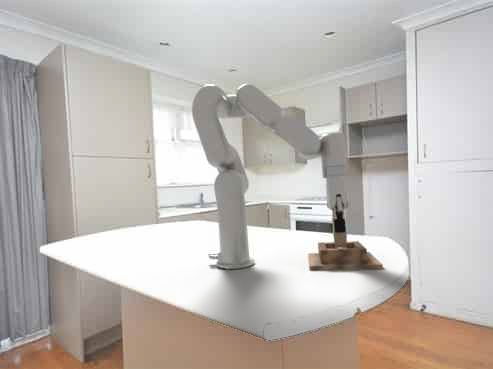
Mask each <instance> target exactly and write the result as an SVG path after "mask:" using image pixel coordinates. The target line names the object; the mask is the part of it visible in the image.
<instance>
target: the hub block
mask: <svg viewBox="0 0 493 369" xmlns="http://www.w3.org/2000/svg"><path fill="white" fill-rule="evenodd" d="M346 246H347V248H346V247H338V248H337V249H335V247H336V245H335V243H334V241H329V242H328V241H326V242H325V241H324V242H317V249H318V252H314V253H313V252H312V253H307V258H308V268H309V271H333V270H334V271H335V270H336V271H338V270H339V271H340V270H342V271H343V270H345V271H346V270H347V271H348V270H350V271H351V270H383V269H384V266H383V263H381V261H379V260H378V259H377V258H376V257H375V256H374V255H373V254H372V253H371V252H370V251H367V250H368V249H367V248H366V247H365V246H364V245H363V244H362V243H361V242H360V241H359V240H355V241H347V244H346Z"/></svg>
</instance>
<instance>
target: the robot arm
mask: <svg viewBox="0 0 493 369" xmlns="http://www.w3.org/2000/svg"><path fill="white" fill-rule="evenodd" d="M191 112H192V119H193V123H194V125H195V129H196V132H197V133H198V137H199V140H200V143H201V146H202V149H203V152H204V154H205V158H206V160H207V163H208V164H209V165H210V166H212V167H214V168H216V169H217V172H218V174H217V176H216V177H215V179H214V183H213V189H214V195H215V201H216V209H217V211H216V212H217V221H218V223H217V224H218V236H219V248H220V251H217V252H209V253H208V258H209V259H210V260H217V261H216V267H217V266H218V267H217V268H219V267H221V268H220V269H222V268H225V269H224V270H238V269H239V270H240V269H245V268H248V267H252V265H254V264H255V259H254V258H253V257H250V250H249V248H250V247H249V234H248V217H247V207H246V200H245V199H246V198H245V194H246V193H247V191H248V190H249V185H250V184H249V179H248V176H247V173H246V171H245V168H244V167H245V166H244V165H243V162H242V160H241V157H240V154H239V153H238V151H237V149H236V147H234V145H232V144H230V142H229V141H228V139H227V136H226V134H225V131H224V127H223V126H222V123H221V121H220V119H233V118H234V119H237V118H248V117H250V118H252V119H253V120H254V121H255V122H257V123H258V124H259V125H260V126H261V127H263V129H265V130H266V131H268V132H269V133H272V134H275V135H276V136H278V137H279V138H280V139H282V140H283V141H285V143H287V144H288V145H290V147H291V148H293V149H294V150H295V151H296V154H297V156H299V157H300V159H302V160H305V161H307V160H308V161H309V160H314V159H319V158H320V160H321V173H322V179H325V182H326V184H325V188H326V189H325V190H326V193H325V194H326V204H327V203H328V207H327V208H328V209H329V210H331V212H332V208H334V217H335V219H334V229H335V232H336V233H342V232H346V233H347V227H345V226H346V219H345V209H347V208H346V202H347V197H346V196H347V195H346V184H345V182H346V181H345V178H346V177H349V176H348V175H349V174H348V164H347V161H348V160H347V151H346V139H345V135H344V133H342V132H329V133H325V134H322V135H321V136H318V134H317V133H316V132H315V131H314V130H313V129H311V128H310V127H308V126H307V125H306V124H305V123H304V122H303V121H301V120H300V119H299V118H297V117H295V115H293V114H291V113H289V112H288V111H287V110H286V109H284V108H282V106H280V105H279V104H278V103H276V102H275V101H274V100H273V99H272V98H270V97H269V96H268V95H267V94H265V92H263V91H262V90H260V88H258V87H257V86H256V85H254V84H252V83H245V84H242V85H240V86H239V87H238V88H237V90H236V92H235V94H229V95H228V94H227V93H226V92H225V91H224V90H223V89H222V88H221V87H219V86H218V85H216V84H211V83H210V84H205V85H204V86H202V87H200V89H199V90H198V91H197V93H196V94H195V96H194V98H193V100H192V104H191ZM343 204H344V206H343ZM335 207H337V208H338V209H335ZM343 207H344V208H343ZM336 211H337V212H336ZM331 220H332V223H333V212H332V217H331Z"/></svg>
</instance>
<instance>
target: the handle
mask: <svg viewBox="0 0 493 369" xmlns="http://www.w3.org/2000/svg"><path fill="white" fill-rule="evenodd" d="M343 206H344V204H343ZM348 207H349V202H348V201H346V208H345V209H347V208H348ZM326 208H328V203H327V202H326ZM343 208H344V207H343ZM335 209H338V208H337V207H335ZM331 212H333V216H332V218H333V222H332V236H333V242H334V243H335V245H336V247H335V249H337V248H338V247H346V248H347V246H346V244H347V242H348V240H347V238H348V237H347V235H348V234H347V231H346V232H342V233H336V232H335V229H334V219H335V217H334V208H332V210H331ZM336 212H337V211H336ZM346 226H347V225H345V227H346ZM346 228H347V227H346Z"/></svg>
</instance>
